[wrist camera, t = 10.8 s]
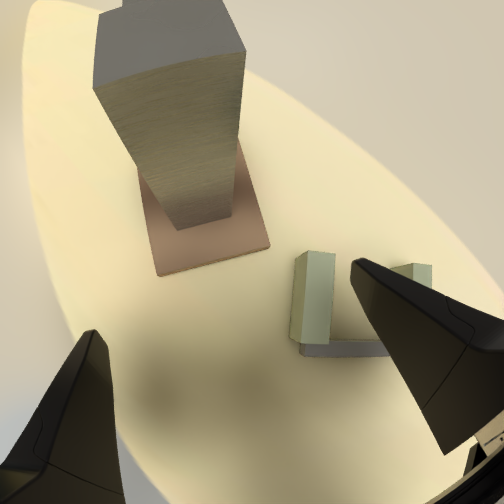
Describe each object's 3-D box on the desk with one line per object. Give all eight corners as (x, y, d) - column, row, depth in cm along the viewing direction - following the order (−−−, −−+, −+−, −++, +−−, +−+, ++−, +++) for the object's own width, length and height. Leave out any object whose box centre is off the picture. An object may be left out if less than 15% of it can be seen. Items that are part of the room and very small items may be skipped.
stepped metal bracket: (231, 216, 18) (246, 50, 5) (177, 231, 18) (92, 88, 5) (207, 130, 19) (199, -43, 6) (159, 142, 19) (105, -21, 6)
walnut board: (268, 248, 19) (270, 245, 18) (160, 276, 18) (157, 275, 17) (236, 140, 20) (236, 133, 19) (139, 164, 19) (135, 158, 18)
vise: (402, 353, 19) (426, 358, 16) (287, 352, 18) (298, 361, 15) (407, 270, 20) (431, 265, 17) (295, 258, 19) (308, 250, 16)
